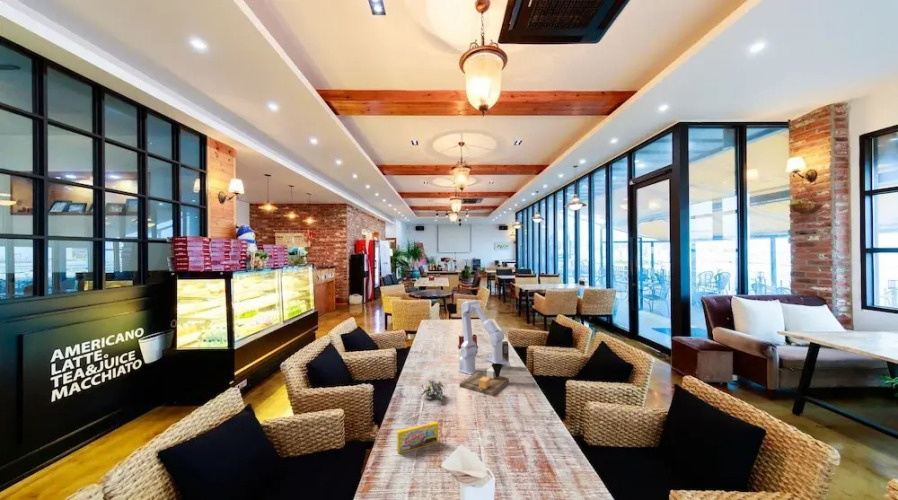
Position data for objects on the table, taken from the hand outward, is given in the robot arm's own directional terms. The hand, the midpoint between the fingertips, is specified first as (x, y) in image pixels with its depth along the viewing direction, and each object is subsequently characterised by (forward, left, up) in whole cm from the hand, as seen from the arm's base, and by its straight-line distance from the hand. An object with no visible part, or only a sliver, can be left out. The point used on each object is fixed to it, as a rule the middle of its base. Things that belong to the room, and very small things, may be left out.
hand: (497, 376), depth 185 cm
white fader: (-4, 0, -1) cm, 4 cm away
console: (-5, -7, -3) cm, 9 cm away
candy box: (+1, -71, -4) cm, 71 cm away
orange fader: (-1, -14, -1) cm, 14 cm away
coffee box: (-8, +21, -3) cm, 23 cm away
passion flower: (-19, -36, -4) cm, 41 cm away
